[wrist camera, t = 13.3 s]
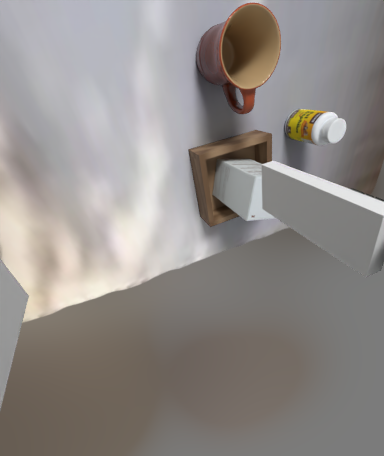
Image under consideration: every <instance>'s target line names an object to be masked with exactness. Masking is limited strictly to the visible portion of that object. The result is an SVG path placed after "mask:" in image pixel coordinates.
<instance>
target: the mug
mask: <svg viewBox="0 0 384 456" xmlns="http://www.w3.org/2000/svg"><path fill="white" fill-rule="evenodd" d="M280 49H281V35H280V30H279V26H278V23H277V20H276V18H275V17H274V15H273V14H272V12H271V11H270V10H269V9H268V8H267V7H265V6H264V5H261V4H259V3H247V4H244V5H242V6H240V7H239V8H237V9H236V10H235V11H234V12H233V13H232V14H231V15H230V17H229V18H228V19H227V21H226V22H223V23H220V24H217V25H215V26H213V27H211V28H210V29H209V30H208V31H207V32H206V33H205V34H204V35H203V36H202V38H201V40H200V42H199V44H198V47H197V53H196V60H197V66H198V69H199V71H200V73H201V74H202V76H203V77H204V78H205V79H206V80H207V81H209V82H211V83H213V84H216V85H222V87H223V91H224V94H225V96H226V98H227V101H228V104H229V106H230V107H231V109H232V110H233V111H234V112H236V113H238V114H246V113H249V112H250V111H251V110H252V109H253V106H254V97H255V90H256V88H258V87H260V86H262V85H263V84H264V83H265V82H266V81H267V80H268V79H269V77H270V76H271V75H272V73H273V71H274V69H275V67H276V65H277V62H278V59H279V55H280ZM236 87H237V88H239V89H240V92H241V94H242V96H243V100H244V105H243V106H242V105H241V104H240V103H239V102H238V100H237V98H236V93H235V89H236Z"/></svg>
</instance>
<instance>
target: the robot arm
mask: <svg viewBox="0 0 384 456" xmlns="http://www.w3.org/2000/svg"><path fill="white" fill-rule="evenodd" d="M261 166H262V209H263V210H265V211H266V212H268V213H269V214H271V215H272V216H274V217H275V218H277V219H278V220H280V221H281V222H283V223H284V224H286V225H287V226H289V227H290V228H292V229H293V230H295V231H297V232H298V233H299V234H301V235H303V236H304V237H305V238H307V239H308V240H310V241H311V242H313V243H314V244H316V245H318V246H319V247H320V248H322V249H324V250H325V251H327V252H328V253H330V254H331V255H333V256H334V257H336V258H337V259H339V260H340V261H342V262H343V263H345V264H346V265H348V266H349V267H351V268H352V269H354V270H355V271H357V272H358V273H360V274H361V275H363V276H364V277H368V276H370V275H372V274H374V273H376V272H378V271H380V270H381V269H382V266H383V262H384V200H382V199H379V198H377V197H376V198H374V197H373V196H371V195H369V194H364V193H363V192H360V191H358V190H355V189H352V188H346V187H343V186H340V185H337V184H335V183H332V182H329V181H327V180H324V179H321V178H319V177H316V176H313V175H311V174H308V173H305V172H303V171H300V170H297V169H295V168H292V167H289V166H287V165H284V164H281V163H279V162H276V161H271V162H268V163H265V164H261ZM28 297H29V296H28V294H27V293H26V292H25V290H24V289H23V288H22V286H21V285H20V284H19V283H18V281H17V280H16V279H15V277H14V276H13V275H12V273H11V272H10V271H9V270H8V268H7V267H6V266H5V264H4V263H3V262H2V260H1V259H0V409H1V405H2V401H3V397H4V393H5V389H6V385H7V381H8V377H9V373H10V369H11V365H12V361H13V357H14V353H15V349H16V345H17V341H18V337H19V333H20V329H21V325H22V321H23V317H24V313H25V309H26V305H27V301H28Z"/></svg>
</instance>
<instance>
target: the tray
mask: <svg viewBox="0 0 384 456" xmlns="http://www.w3.org/2000/svg"><path fill="white" fill-rule="evenodd" d="M189 155H190V161H191V166H192V172H193V178H194V183H195V189H196V194H197V200H198V206H199V211H200V217H201V218H202V219H203V220H204V221H205V222H206V223H207V224H208V225H209V226H210V227H211V226H214V225H217V224H219V223H222V222H225V221H228V220H230V219H233V218H236V217H238V216H239V215H238V214H237V213H235V212H234V211H233V210H232V209H230V208H229V207H228V206H226V205H225V204H224V203H223V202H221V201H220V200H219V199H218V198H216V197H215V196H214V195H213V186H214V179H215V171H216V164H217V159H251V160H254V161H256V162H258V163H261V164H265V163H268V162H271V161H272V134H271V133H266V132H262V131H258V130H255V131H251V132H248V133H244V134H241V135H237V136H234V137H230V138H227V139H223V140H220V141H216V142H213V143H209V144H206V145H202V146H199V147H196V148H192V149H189Z"/></svg>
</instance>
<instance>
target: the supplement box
mask: <svg viewBox="0 0 384 456" xmlns="http://www.w3.org/2000/svg"><path fill="white" fill-rule="evenodd" d="M213 195H214V196H215V197H216V198H218V199H219V200H220V201H221V202H223V203H224V204H225V205H226V206H228V207H229V208H230V209H232V210H233V211H234V212H235V213H237V214H238V215H239V216H240V217H242V218H243V219H244V220H245V221H252V220H262V219H272V218H275V217H274V216H272V215H271V214H269V213H268V212H266V211H265V210H263V209H262V166H261V163H258V162H256V161H254V160H251V159H217V164H216V171H215V179H214V186H213Z"/></svg>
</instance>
